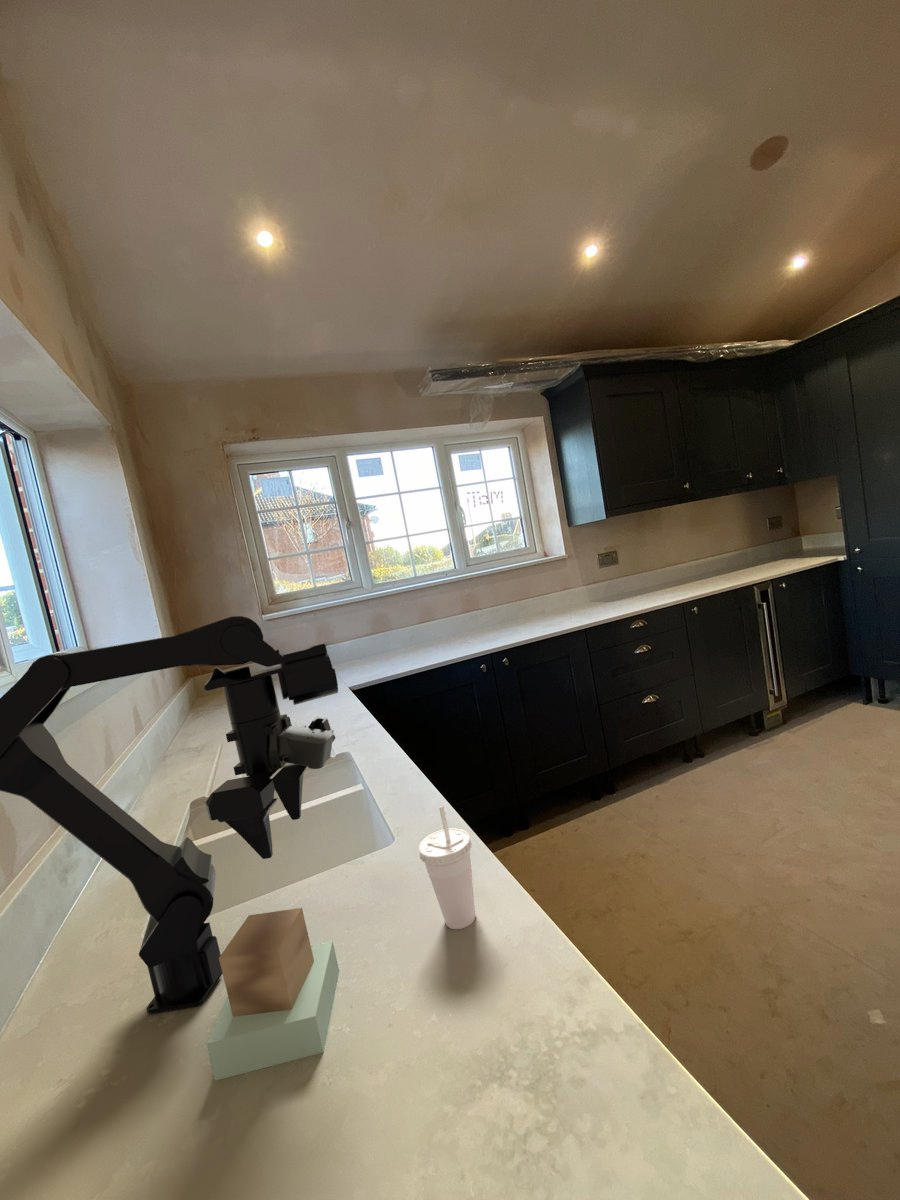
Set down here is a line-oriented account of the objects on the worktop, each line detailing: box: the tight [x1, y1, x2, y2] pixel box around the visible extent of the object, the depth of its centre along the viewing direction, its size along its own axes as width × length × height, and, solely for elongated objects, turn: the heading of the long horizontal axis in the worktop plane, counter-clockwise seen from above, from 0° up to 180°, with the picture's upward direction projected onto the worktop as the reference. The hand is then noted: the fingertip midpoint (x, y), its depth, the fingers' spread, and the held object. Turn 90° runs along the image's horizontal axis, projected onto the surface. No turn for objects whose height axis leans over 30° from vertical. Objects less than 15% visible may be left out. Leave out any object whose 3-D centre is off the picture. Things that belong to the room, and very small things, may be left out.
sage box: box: [205, 940, 340, 1081], centre depth 52 cm, size 10×10×4 cm
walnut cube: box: [219, 907, 314, 1017], centre depth 52 cm, size 6×6×6 cm
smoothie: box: [418, 805, 476, 930], centre depth 62 cm, size 6×6×14 cm
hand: (283, 837), depth 64 cm, fingers open, 9 cm apart
